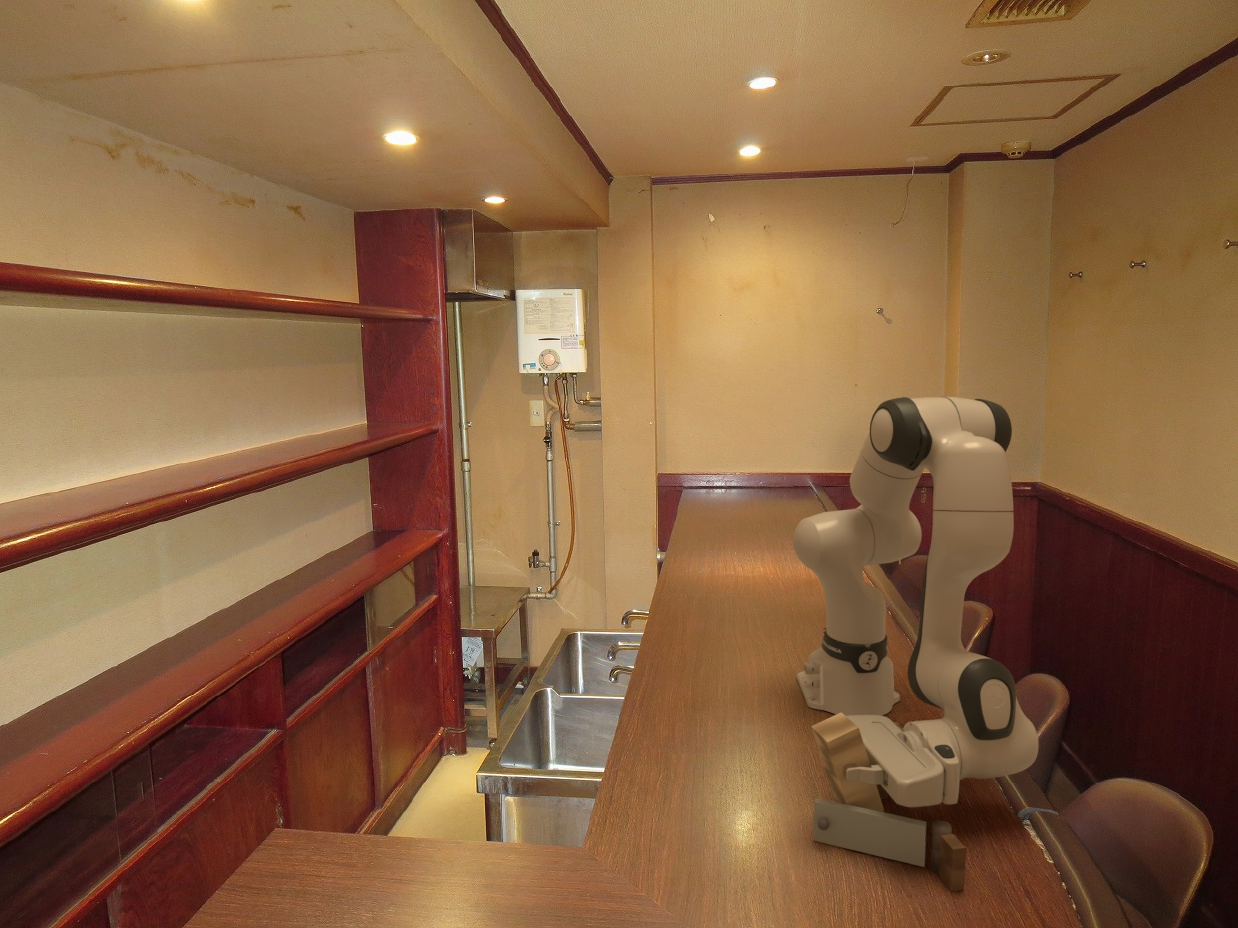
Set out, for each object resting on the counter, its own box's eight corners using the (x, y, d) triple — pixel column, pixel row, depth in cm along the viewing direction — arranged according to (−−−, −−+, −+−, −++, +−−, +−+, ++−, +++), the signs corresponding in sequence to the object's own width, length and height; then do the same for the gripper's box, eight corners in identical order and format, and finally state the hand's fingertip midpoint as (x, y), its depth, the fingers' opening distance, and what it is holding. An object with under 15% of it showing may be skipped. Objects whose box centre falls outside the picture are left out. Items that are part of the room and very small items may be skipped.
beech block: (837, 807, 121) (811, 726, 118) (866, 792, 122) (841, 712, 119) (854, 825, 116) (827, 742, 114) (884, 810, 117) (858, 727, 114)
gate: (925, 861, 112) (926, 821, 111) (923, 873, 110) (924, 832, 109) (815, 835, 118) (815, 797, 118) (811, 846, 116) (811, 807, 115)
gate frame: (860, 782, 133) (861, 745, 132) (874, 780, 133) (875, 743, 132) (949, 891, 106) (950, 845, 105) (966, 889, 107) (968, 843, 106)
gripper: (893, 700, 129) (809, 708, 127) (965, 767, 109) (867, 777, 107) (892, 738, 130) (808, 746, 128) (963, 811, 110) (866, 822, 108)
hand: (835, 761), depth 117 cm, fingers closed on beech block, 5 cm apart
